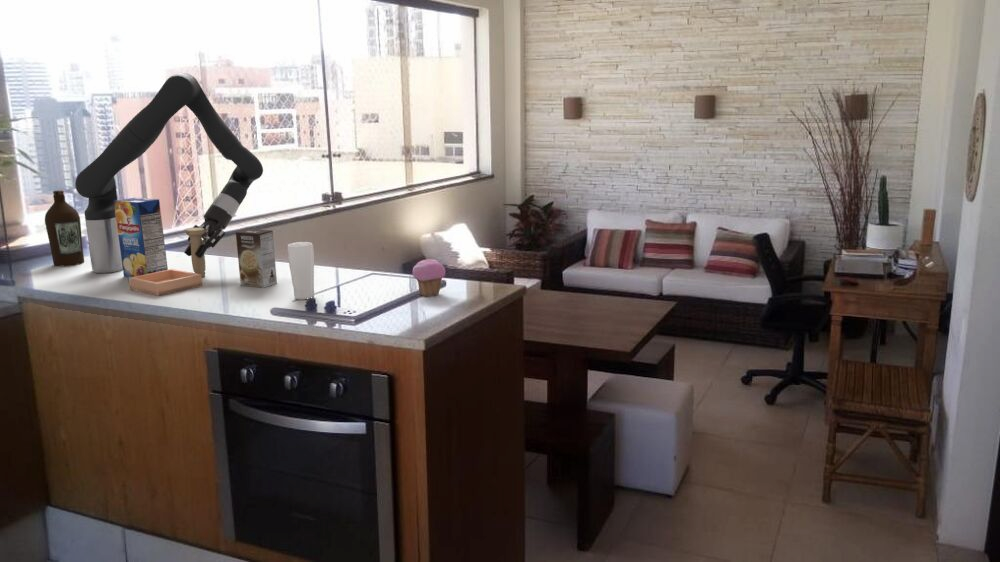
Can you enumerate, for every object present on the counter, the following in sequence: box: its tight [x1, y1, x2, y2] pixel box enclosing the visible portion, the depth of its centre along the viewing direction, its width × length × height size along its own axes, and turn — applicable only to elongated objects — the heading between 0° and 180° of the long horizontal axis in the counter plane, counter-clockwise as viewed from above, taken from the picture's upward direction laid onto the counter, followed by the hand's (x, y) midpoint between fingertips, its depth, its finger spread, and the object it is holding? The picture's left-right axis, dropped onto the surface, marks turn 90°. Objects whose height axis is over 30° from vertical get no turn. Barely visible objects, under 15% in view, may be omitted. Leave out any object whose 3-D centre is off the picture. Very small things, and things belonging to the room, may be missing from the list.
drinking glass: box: [287, 241, 315, 301], centre depth 223 cm, size 7×7×15 cm
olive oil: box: [44, 189, 85, 267], centre depth 279 cm, size 11×11×25 cm
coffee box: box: [235, 228, 278, 289], centre depth 241 cm, size 9×6×16 cm
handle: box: [184, 227, 207, 278], centre depth 253 cm, size 5×6×15 cm
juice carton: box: [114, 197, 169, 278], centre depth 256 cm, size 12×8×24 cm, turn 59°
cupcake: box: [412, 258, 446, 297], centre depth 223 cm, size 9×9×10 cm
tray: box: [128, 268, 203, 297], centre depth 241 cm, size 15×14×4 cm
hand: (192, 255), depth 252 cm, fingers open, 5 cm apart
